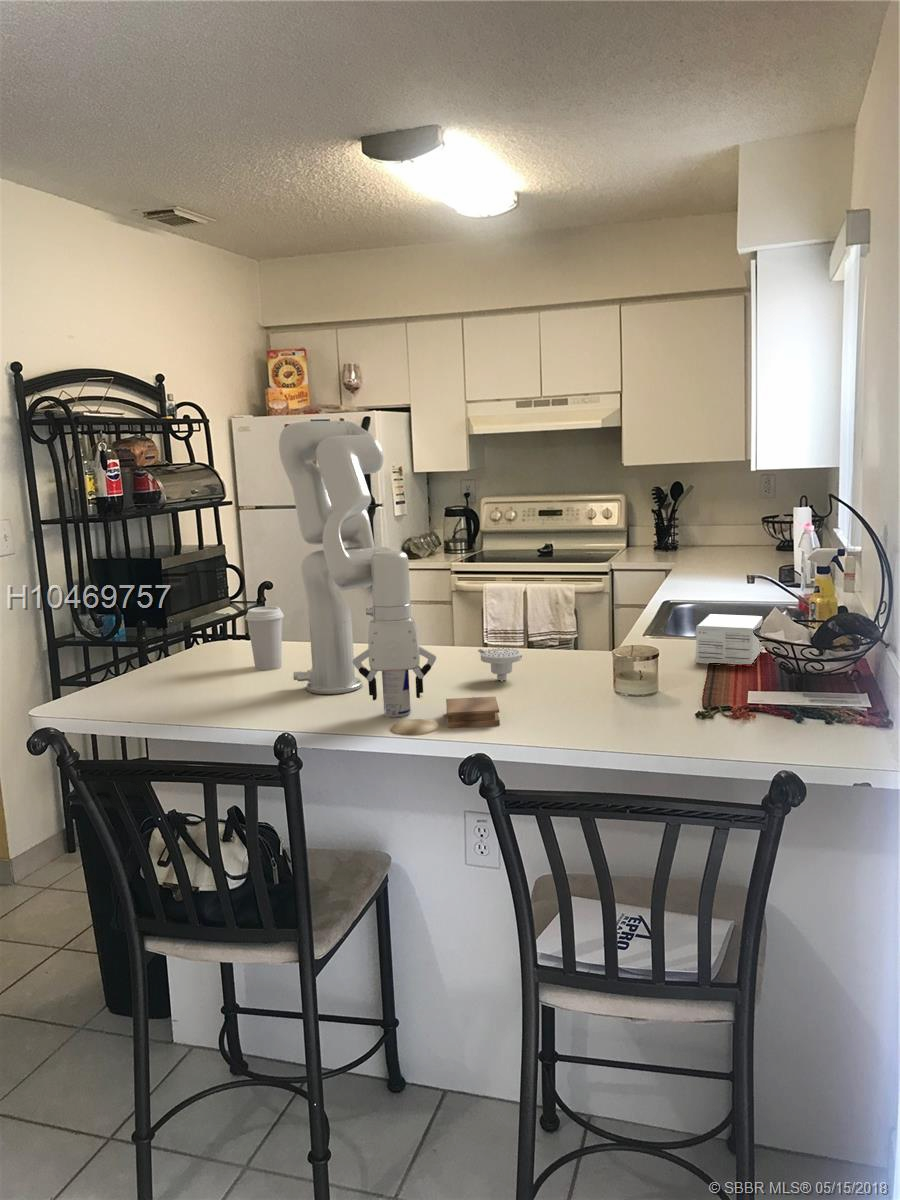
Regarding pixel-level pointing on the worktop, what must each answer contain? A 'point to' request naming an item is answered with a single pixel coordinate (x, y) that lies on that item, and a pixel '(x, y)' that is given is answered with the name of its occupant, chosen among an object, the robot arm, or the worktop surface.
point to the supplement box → (728, 639)
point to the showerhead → (501, 660)
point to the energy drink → (396, 693)
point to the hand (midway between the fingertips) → (396, 697)
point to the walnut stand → (472, 712)
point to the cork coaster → (415, 727)
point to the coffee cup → (266, 636)
